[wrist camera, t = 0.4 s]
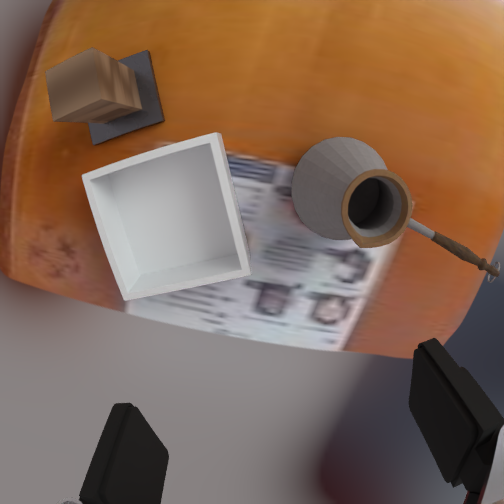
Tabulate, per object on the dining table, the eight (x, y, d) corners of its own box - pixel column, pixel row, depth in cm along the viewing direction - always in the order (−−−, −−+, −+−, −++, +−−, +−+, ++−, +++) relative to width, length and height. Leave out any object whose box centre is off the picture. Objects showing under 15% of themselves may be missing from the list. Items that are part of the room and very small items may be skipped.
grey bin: (104, 169, 34) (81, 175, 29) (221, 133, 34) (216, 132, 28) (139, 279, 39) (124, 300, 34) (250, 254, 39) (251, 275, 33)
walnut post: (95, 85, 30) (45, 71, 20) (133, 70, 30) (92, 47, 19) (103, 123, 32) (53, 121, 21) (142, 109, 31) (101, 99, 21)
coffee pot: (272, 212, 37) (289, 258, 23) (310, 120, 33) (353, 108, 19) (413, 270, 40) (474, 326, 26) (448, 195, 36) (525, 226, 22)
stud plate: (83, 78, 30) (61, 72, 25) (149, 51, 30) (134, 39, 25) (96, 144, 33) (75, 146, 28) (164, 120, 33) (151, 117, 28)
